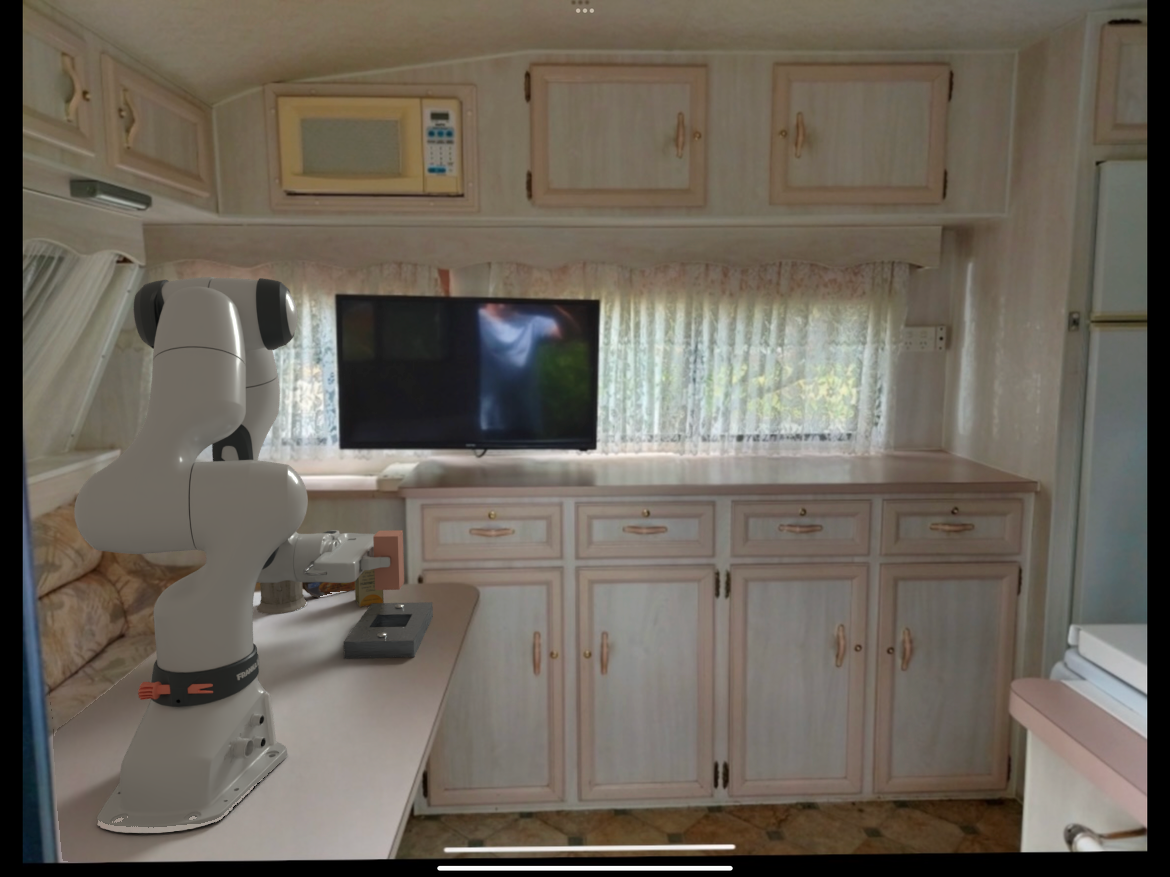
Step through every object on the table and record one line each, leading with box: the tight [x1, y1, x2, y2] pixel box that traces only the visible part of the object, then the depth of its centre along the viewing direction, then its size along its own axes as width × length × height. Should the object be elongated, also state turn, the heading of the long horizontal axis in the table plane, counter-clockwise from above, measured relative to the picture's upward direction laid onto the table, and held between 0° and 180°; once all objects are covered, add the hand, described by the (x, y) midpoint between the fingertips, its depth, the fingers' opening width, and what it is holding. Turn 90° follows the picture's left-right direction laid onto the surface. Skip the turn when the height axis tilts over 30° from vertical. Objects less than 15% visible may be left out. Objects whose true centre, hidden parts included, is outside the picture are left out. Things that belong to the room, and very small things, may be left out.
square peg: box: [373, 529, 405, 591], centre depth 137 cm, size 4×4×10 cm
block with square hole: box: [343, 601, 434, 659], centre depth 139 cm, size 20×12×3 cm, turn 2°
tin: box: [302, 581, 355, 598], centre depth 164 cm, size 15×3×8 cm, turn 133°
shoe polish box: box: [354, 569, 385, 608], centre depth 158 cm, size 5×5×12 cm
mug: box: [256, 580, 308, 615], centre depth 153 cm, size 14×10×12 cm
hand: (394, 556), depth 137 cm, fingers closed on square peg, 4 cm apart
